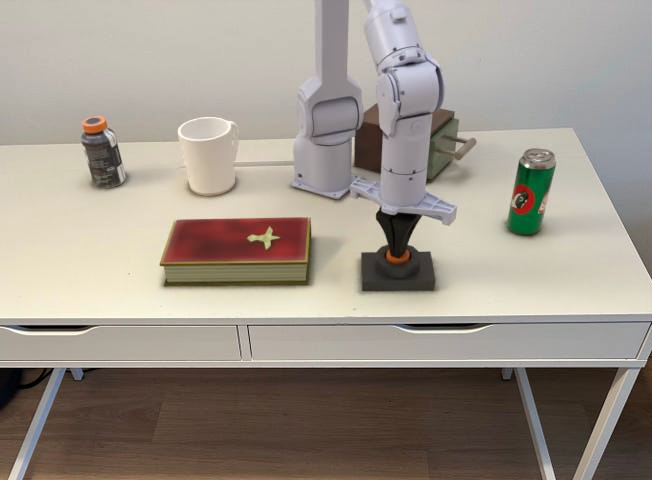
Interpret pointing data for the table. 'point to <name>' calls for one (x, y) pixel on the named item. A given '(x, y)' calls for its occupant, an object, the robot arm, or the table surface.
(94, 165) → the pill bottle
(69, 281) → the table surface
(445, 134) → the drawer
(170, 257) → the hardcover book
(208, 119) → the mug
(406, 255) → the button
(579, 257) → the table surface
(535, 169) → the soda can
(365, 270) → the button block
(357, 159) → the cabinet
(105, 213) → the table surface
